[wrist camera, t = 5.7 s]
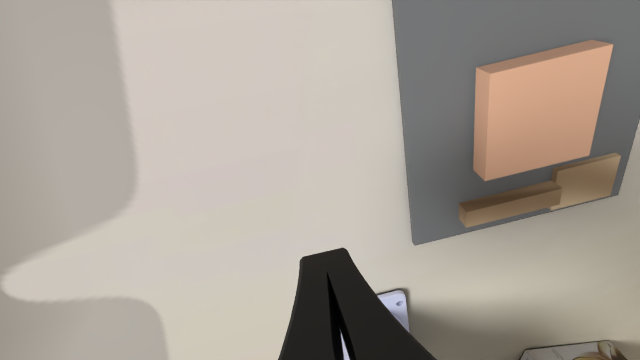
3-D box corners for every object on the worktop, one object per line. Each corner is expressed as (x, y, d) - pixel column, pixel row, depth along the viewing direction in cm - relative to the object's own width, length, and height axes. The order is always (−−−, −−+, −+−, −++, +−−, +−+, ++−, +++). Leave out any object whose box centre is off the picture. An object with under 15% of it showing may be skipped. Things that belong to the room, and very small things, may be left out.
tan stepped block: (605, 192, 24) (618, 200, 23) (458, 228, 24) (465, 238, 23) (615, 152, 22) (629, 159, 21) (458, 191, 22) (466, 200, 21)
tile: (470, 167, 21) (568, 143, 21) (484, 181, 20) (589, 155, 20) (472, 66, 18) (587, 38, 18) (490, 73, 17) (613, 44, 17)
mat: (613, 191, 24) (618, 195, 24) (412, 241, 24) (414, 245, 24) (692, -101, 16) (702, -103, 16) (389, -30, 16) (392, -30, 16)
